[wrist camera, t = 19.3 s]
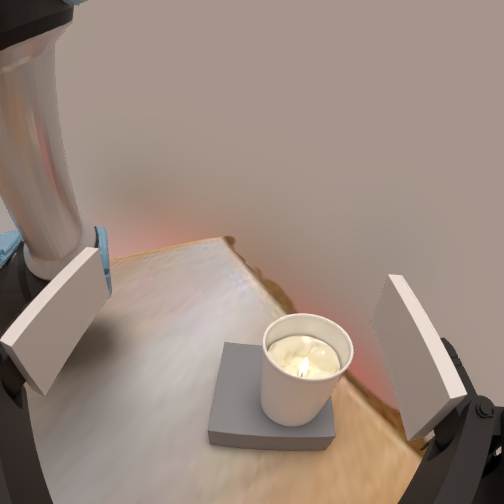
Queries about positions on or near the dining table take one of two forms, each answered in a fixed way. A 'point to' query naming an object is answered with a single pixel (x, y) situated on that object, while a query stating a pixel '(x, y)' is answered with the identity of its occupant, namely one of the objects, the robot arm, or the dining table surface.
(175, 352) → the dining table surface
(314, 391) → the candle holder
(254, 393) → the riser block
